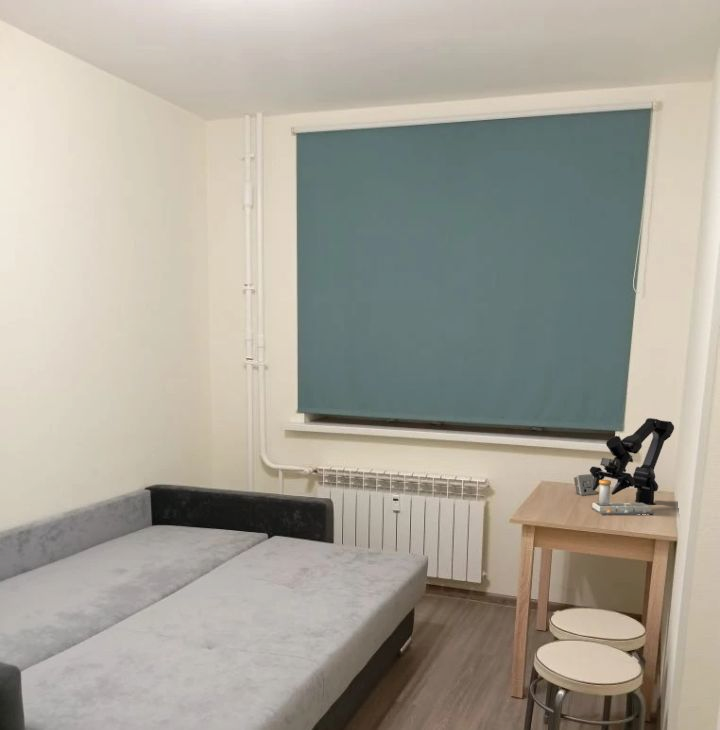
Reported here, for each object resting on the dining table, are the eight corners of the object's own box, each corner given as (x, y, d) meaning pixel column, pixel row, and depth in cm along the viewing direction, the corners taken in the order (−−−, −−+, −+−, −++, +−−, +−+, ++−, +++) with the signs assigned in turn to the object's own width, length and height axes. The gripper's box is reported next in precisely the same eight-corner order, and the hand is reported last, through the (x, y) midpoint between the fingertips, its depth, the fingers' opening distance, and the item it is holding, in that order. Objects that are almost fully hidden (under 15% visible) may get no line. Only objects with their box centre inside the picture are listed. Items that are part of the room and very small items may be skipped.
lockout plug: (604, 507, 279) (604, 479, 279) (612, 510, 275) (613, 481, 274) (595, 508, 277) (596, 480, 277) (604, 511, 273) (605, 482, 273)
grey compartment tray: (641, 508, 282) (641, 502, 281) (654, 515, 272) (654, 508, 272) (591, 509, 280) (591, 502, 280) (602, 515, 270) (602, 508, 270)
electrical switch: (581, 496, 304) (580, 475, 304) (573, 494, 309) (572, 474, 309) (596, 494, 308) (595, 474, 309) (588, 493, 313) (587, 473, 313)
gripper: (592, 447, 285) (575, 475, 279) (631, 454, 270) (614, 483, 264) (603, 464, 290) (586, 492, 284) (642, 471, 274) (625, 501, 268)
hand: (602, 491), depth 275 cm, fingers open, 9 cm apart
